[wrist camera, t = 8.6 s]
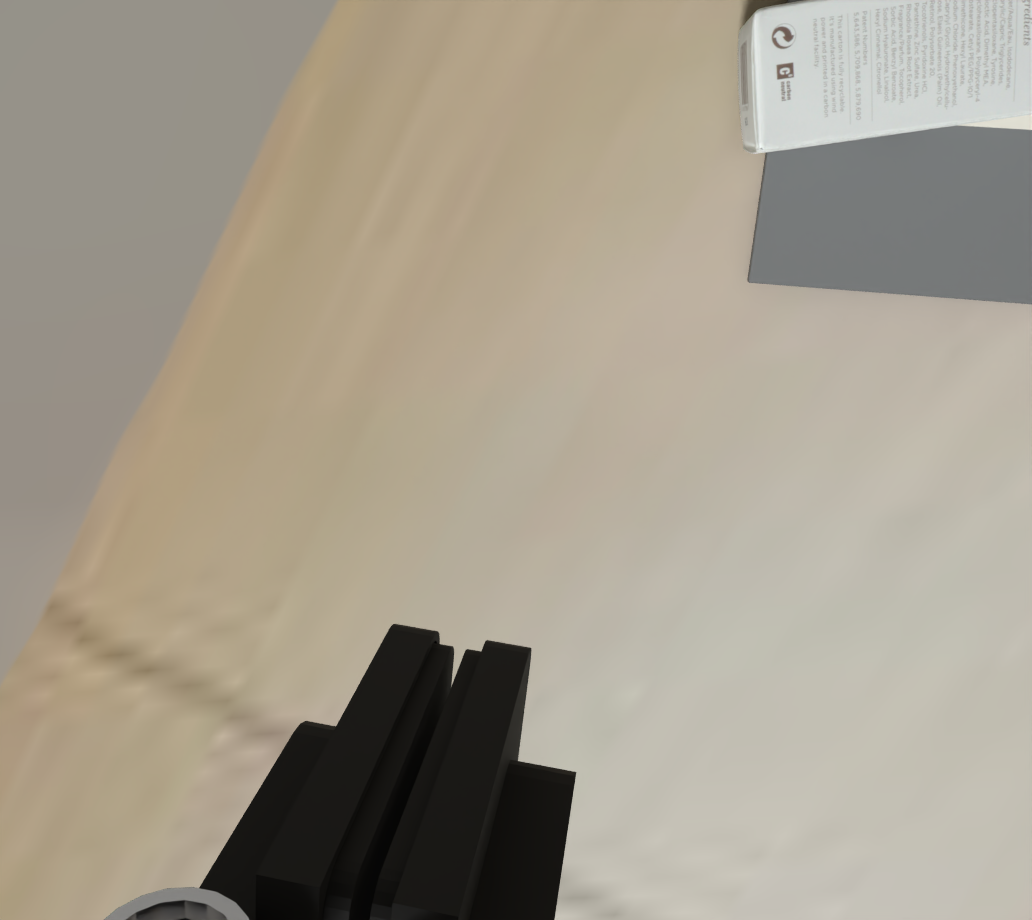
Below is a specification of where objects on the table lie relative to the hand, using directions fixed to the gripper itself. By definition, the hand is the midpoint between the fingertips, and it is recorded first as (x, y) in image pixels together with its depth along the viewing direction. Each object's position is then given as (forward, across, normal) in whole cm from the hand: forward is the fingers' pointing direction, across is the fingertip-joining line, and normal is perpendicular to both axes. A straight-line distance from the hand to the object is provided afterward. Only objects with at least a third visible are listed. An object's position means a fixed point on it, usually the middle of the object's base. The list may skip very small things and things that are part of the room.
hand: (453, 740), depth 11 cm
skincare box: (+25, -3, -8) cm, 27 cm away
